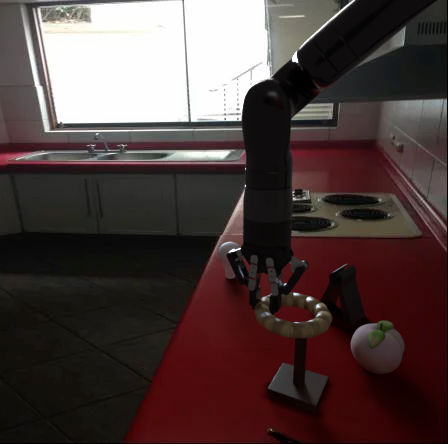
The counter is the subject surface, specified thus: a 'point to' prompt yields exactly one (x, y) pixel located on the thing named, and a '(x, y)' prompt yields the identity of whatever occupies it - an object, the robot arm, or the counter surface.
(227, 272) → the lightbulb
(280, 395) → the post
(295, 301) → the beige segmented ring
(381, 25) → the robot arm
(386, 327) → the decorative fruit
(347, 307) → the phone stand
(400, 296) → the counter surface
